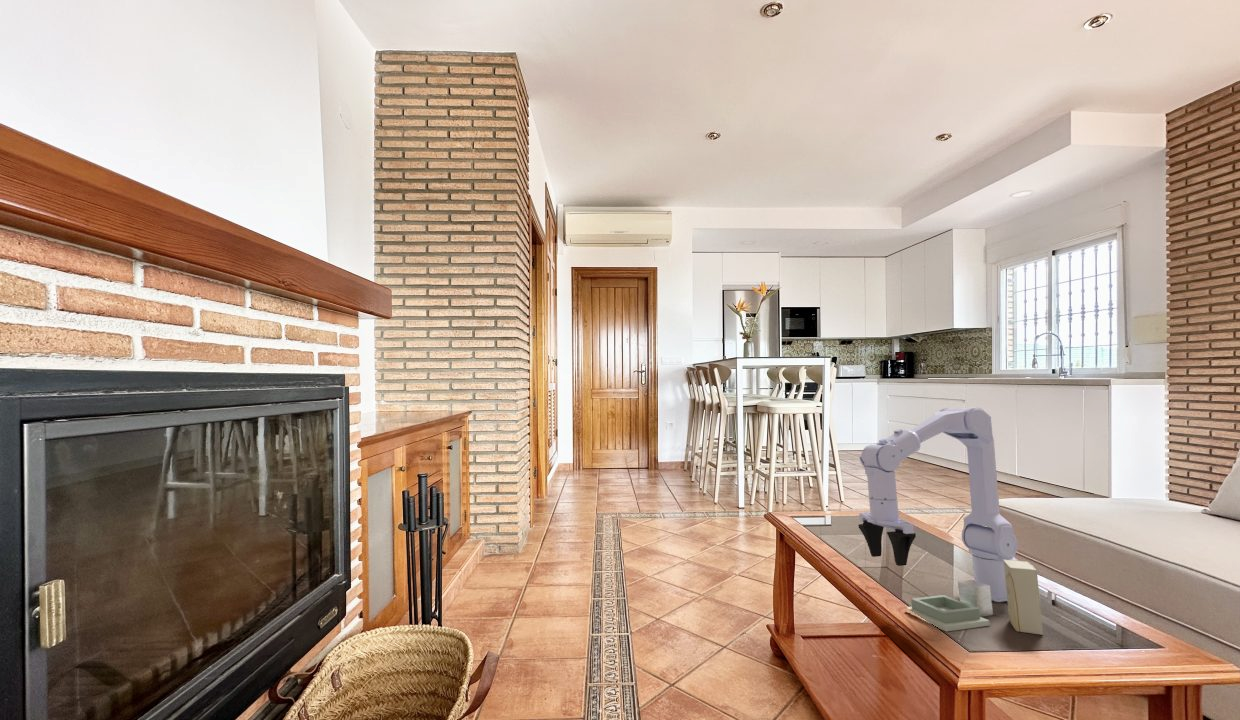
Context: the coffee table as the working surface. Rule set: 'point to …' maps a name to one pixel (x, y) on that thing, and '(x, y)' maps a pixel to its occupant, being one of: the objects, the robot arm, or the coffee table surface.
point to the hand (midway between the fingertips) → (888, 560)
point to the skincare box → (1023, 596)
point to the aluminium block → (976, 596)
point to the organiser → (947, 613)
